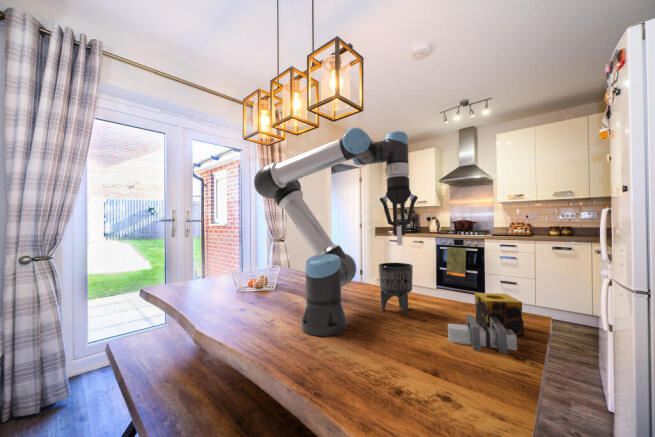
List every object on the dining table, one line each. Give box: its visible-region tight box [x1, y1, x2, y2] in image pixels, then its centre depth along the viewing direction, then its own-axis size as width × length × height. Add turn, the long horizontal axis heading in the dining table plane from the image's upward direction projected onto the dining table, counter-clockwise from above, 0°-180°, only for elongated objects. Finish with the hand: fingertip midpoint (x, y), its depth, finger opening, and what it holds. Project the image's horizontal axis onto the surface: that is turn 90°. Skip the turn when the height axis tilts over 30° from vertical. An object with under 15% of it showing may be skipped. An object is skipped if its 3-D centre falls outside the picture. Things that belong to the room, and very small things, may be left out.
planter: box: [378, 262, 414, 316], centre depth 101 cm, size 13×13×18 cm
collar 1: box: [466, 314, 481, 352], centre depth 73 cm, size 2×10×6 cm, turn 160°
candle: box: [474, 292, 525, 337], centre depth 82 cm, size 10×10×10 cm
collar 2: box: [490, 317, 508, 355], centre depth 71 cm, size 2×10×6 cm, turn 160°
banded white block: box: [447, 323, 518, 351], centre depth 72 cm, size 16×4×4 cm, turn 70°
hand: (399, 244), depth 90 cm, fingers closed
